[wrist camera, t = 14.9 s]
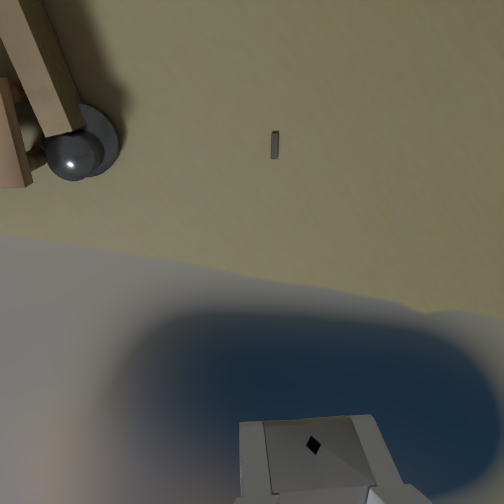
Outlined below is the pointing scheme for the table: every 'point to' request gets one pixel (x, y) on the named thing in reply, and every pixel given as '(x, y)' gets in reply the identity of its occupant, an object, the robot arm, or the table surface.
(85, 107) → the cam lever
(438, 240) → the table surface
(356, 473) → the robot arm
